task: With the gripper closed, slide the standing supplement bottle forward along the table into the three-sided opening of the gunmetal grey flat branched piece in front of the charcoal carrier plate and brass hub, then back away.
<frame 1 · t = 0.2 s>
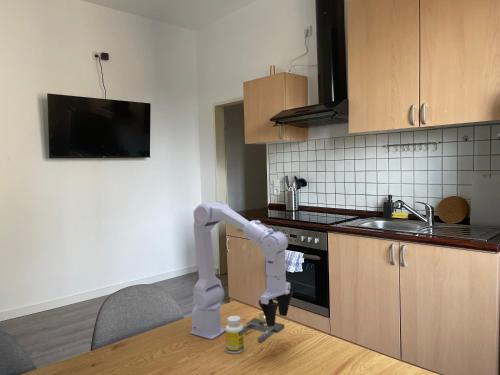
hand: (277, 320, 107), 10 cm above the table, tool pointing down, fingers open, 7 cm apart
grey flat branched piece: (254, 335, 120), on the table
supplement bottle: (235, 350, 111), on the table
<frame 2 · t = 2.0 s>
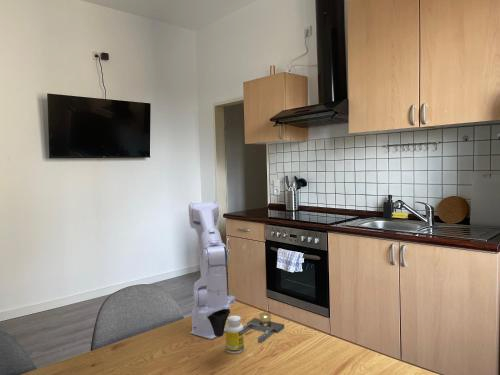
hand: (218, 335, 104), 8 cm above the table, tool pointing down, fingers closed
nothing on the table moved.
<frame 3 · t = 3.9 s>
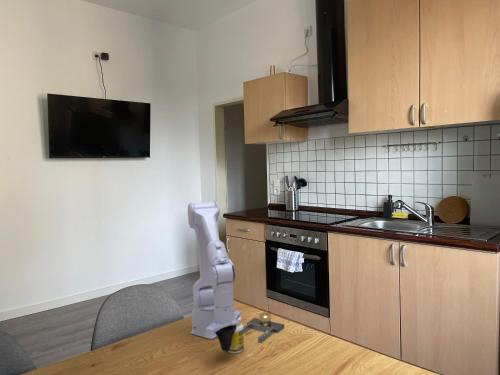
hand: (225, 350, 107), 2 cm above the table, tool pointing down, fingers closed
supplement bottle: (235, 350, 111), on the table, touching gripper
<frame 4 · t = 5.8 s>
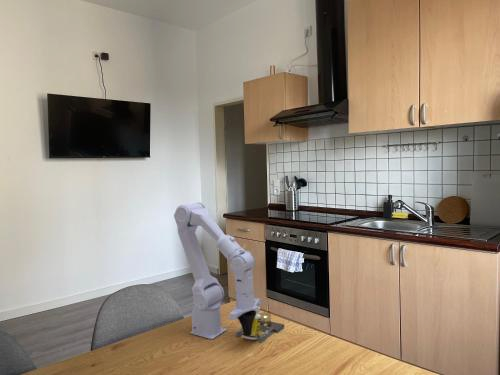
hand: (247, 334, 115), 3 cm above the table, tool pointing down, fingers closed, pressing on supplement bottle
supplement bottle: (249, 338, 117), on the table, touching gripper
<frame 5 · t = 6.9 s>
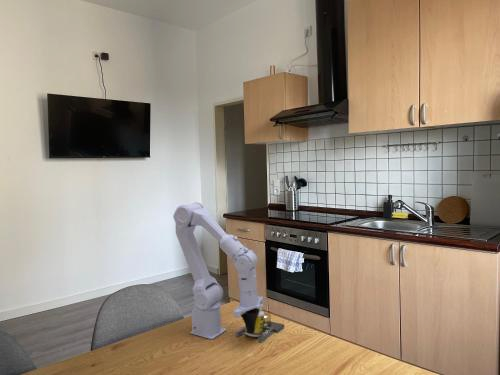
hand: (250, 332, 117), 3 cm above the table, tool pointing down, fingers closed, pressing on supplement bottle
supplement bottle: (253, 335, 119), on the table, touching gripper
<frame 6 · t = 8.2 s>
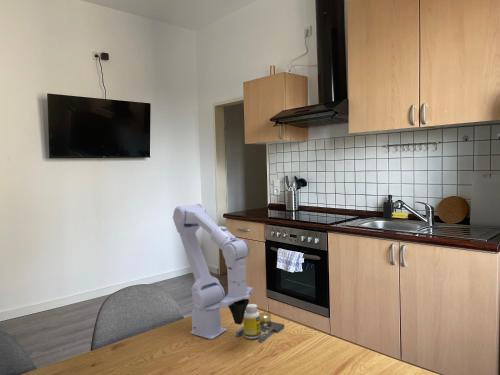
hand: (238, 323, 113), 7 cm above the table, tool pointing down, fingers closed
supplement bottle: (252, 336, 119), on the table
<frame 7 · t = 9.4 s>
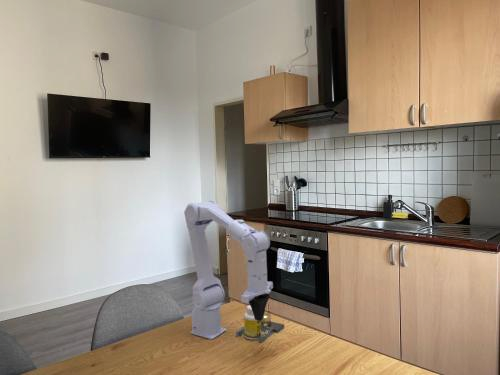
hand: (258, 319, 108), 10 cm above the table, tool pointing down, fingers closed
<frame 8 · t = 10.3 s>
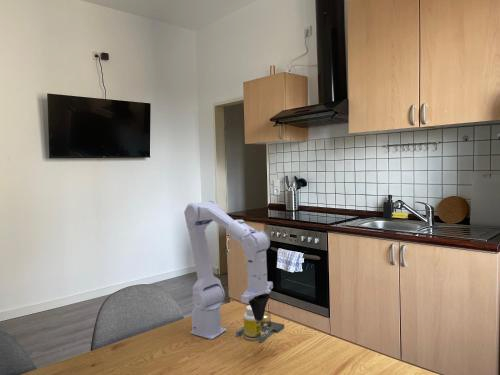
hand: (258, 319, 108), 10 cm above the table, tool pointing down, fingers closed
nothing on the table moved.
at the end: supplement bottle 2.0 cm off-centre on the grey flat branched piece, point 0.0 cm above the grey flat branched piece's base; supplement bottle tilted 3°; supplement bottle moved 9.8 cm from its start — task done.
